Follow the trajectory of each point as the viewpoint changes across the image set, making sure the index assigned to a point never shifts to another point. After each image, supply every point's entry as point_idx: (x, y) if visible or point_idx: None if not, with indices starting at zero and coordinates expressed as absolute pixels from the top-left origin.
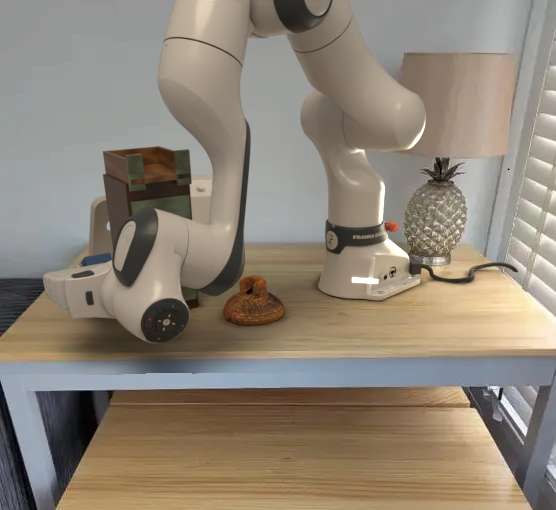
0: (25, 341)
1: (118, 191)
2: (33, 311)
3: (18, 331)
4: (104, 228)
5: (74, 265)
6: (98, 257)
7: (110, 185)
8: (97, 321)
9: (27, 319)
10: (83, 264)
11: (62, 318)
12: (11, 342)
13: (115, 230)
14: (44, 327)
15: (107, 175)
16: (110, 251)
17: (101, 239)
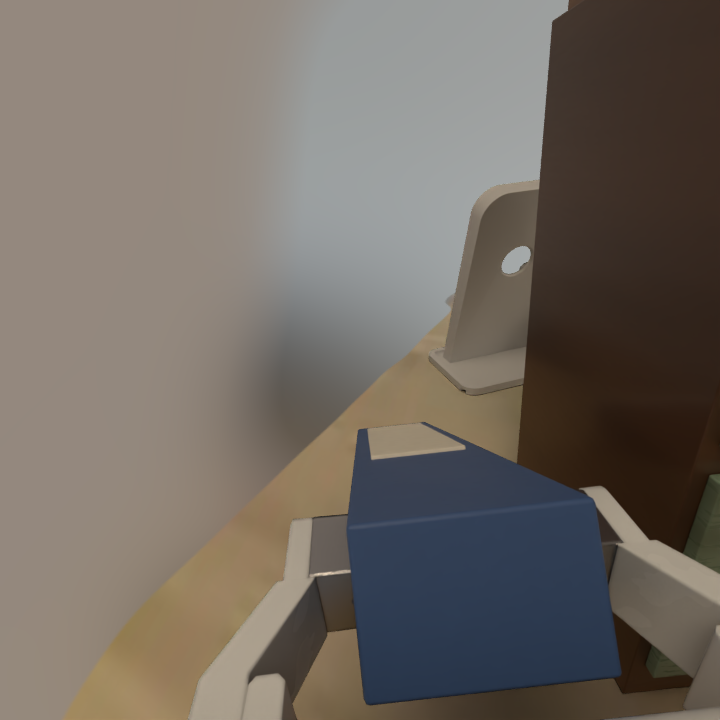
0: (148, 680)
1: (683, 16)
2: (282, 473)
3: (185, 579)
4: (495, 269)
5: (292, 525)
6: (477, 543)
7: (597, 40)
8: None
9: (248, 511)
10: (346, 548)
11: None
12: (112, 663)
13: (562, 278)
14: (258, 584)
15: (582, 4)
16: (498, 321)
17: (483, 294)
